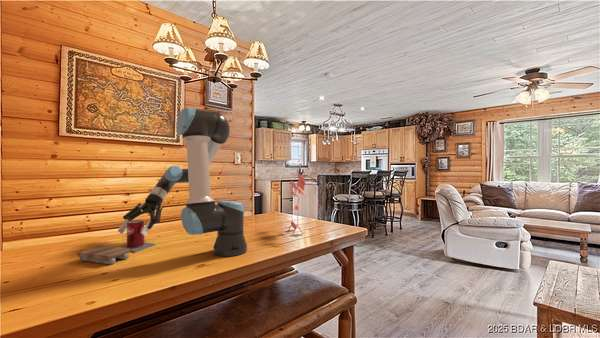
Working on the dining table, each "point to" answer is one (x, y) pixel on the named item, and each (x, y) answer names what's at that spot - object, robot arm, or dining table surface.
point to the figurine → (300, 186)
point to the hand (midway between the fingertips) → (131, 233)
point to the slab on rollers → (104, 254)
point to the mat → (139, 247)
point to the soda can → (135, 233)
